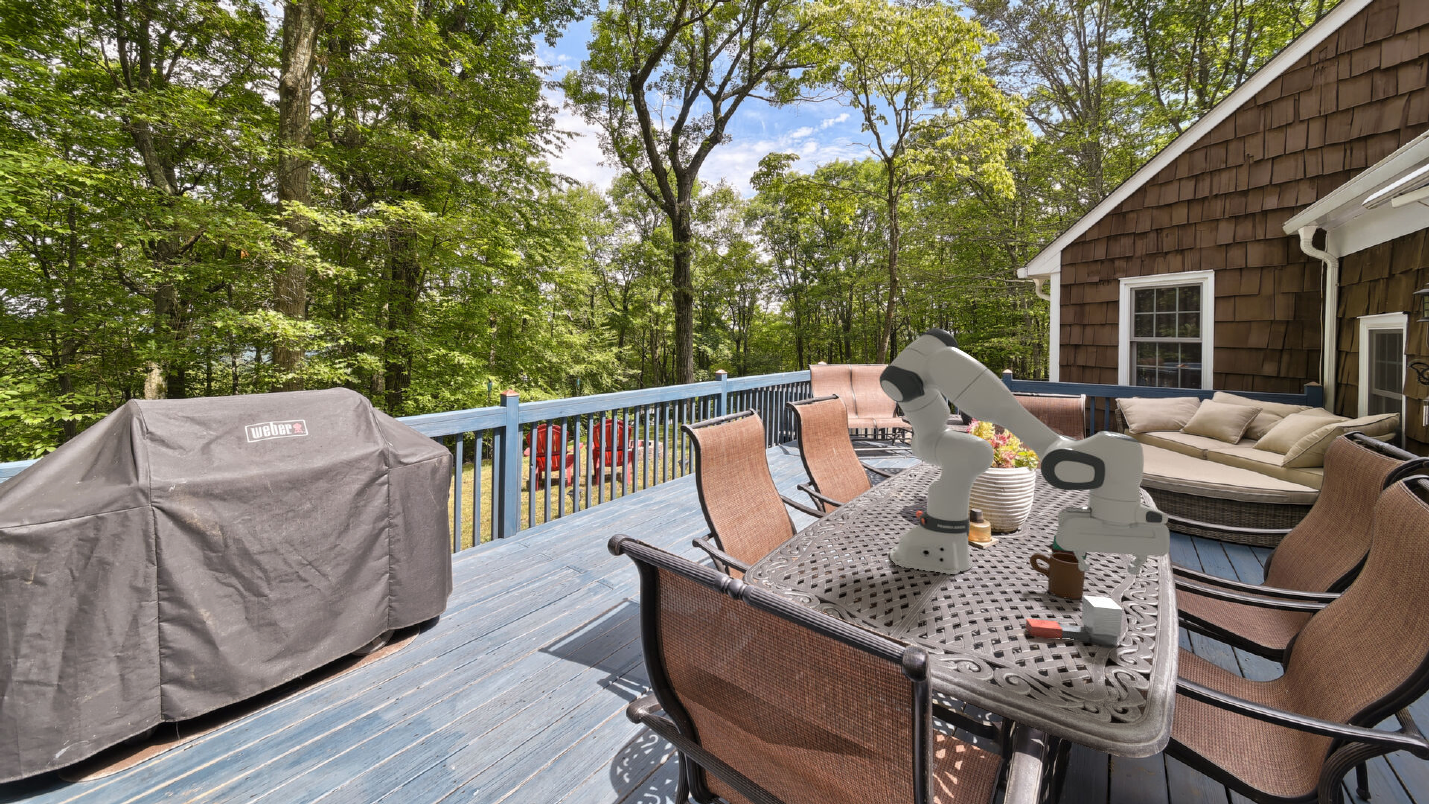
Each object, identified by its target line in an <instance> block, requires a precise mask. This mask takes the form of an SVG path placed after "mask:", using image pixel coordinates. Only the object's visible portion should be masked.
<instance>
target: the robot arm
mask: <svg viewBox="0 0 1429 804" xmlns="http://www.w3.org/2000/svg"><path fill="white" fill-rule="evenodd" d="M879 385H880V388H881V389H882V392H884V393H885V394H886V396H888V397H889V398H890V399H891V400H893V401H894V402H896V403H897V405H898V406H899V407H900V409H901V411H902V412H903V414H904V416H905V417H906V419H907V420H908V422H909V424H910V426H911V428H912V430H913V435H912V438H911V442H910V449H911V452H912V454H913V456H915V457H916V458H918V459H920V460H921V461H923V462H925V463H927V464H929V465H933V466H937V467H940V468H941V475H940V476H939V479H938V480H935V481H934V482H933V483H931V484H930V485H929V486H928V488H927V500H926V501H927V502H926V512H925V511H924V513H923V511H922V510H917V511H916V512H915V516H916V518H917V519H918V522H919V524H917V525H916V526H914V527H912V528H910V529H909V530H906V531H905V532H904V533H902V534H901V536H900V538H899V540H898V544H897V546H894V547H892V548H891V549H890V552H889V558H890V560H891V562H892V561H893V562H894V563H895V564H894V563H893V562H892V563H893V564H894V565H896V566H897V565H899V566H901V567H900V568H904V567H905V568H904V569H910V568H914V569H913V570H917V569H919V571H923V570H925V572H930V571H935V572H934V573H936V572H940V573H939V574H943V573H946V574H945V575H950V574H955V575H957V574H959V573H961V572H966V571H968V570H971V568H972V567H973V564H972V560H971V556H970V549H969V547H970V546H969V536H970V535H969V534H970V532H971V531H970V530H971V529H970V528H971V523H970V522H971V521H970V517H969V508H970V507H969V506H970V497H971V491H972V488H973V486H974V483H975V482H976V480H977V479H978V477H980V475H982V474H984V473H986V472H987V471H988V470H989V469H990V468H991V466H993V463H994V460H995V451H994V448H993V446H992V444H991V443H990V442H989V441H988V440H986V439H984V438H982V437H980V436H977V435H975V434H972V433H967V432H963V431H962V432H961V431H957V430H953V429H951V428H950V427H949V426H948V425H947V423H948V421H949V419H950V417H951V409H950V406H949V405H948V403H947V401H946V400H945V398H946V399H947V400H948V401H949V402H950V403H951V404H952V405H953V406H955V407H956V408H958V409H959V410H960V412H963V413H964V414H966V415H967V416H969V417H970V418H973V419H974V420H976V421H978V422H982V423H990V424H994V425H997V426H999V427H1001V428H1003V429H1005V430H1007V431H1008V432H1010V434H1012V435H1013V436H1015V437H1016V438H1017V439H1018V440H1019V441H1021V442H1022V443H1023V444H1024V445H1026V446H1027V447H1028V448H1030V449H1031V450H1032V451H1033V452H1034V453H1035V455H1036V456H1037V458H1038V460H1039V462H1040V472H1041V475H1042V477H1043V479H1044V481H1045V482H1046V483H1048V484H1049V485H1050V486H1052V487H1053V488H1056V489H1059V490H1062V491H1085V490H1086V491H1087V490H1088V503H1087V507H1085V506H1084V507H1073V506H1066V507H1065V508H1063V509H1061V510H1060V511H1058V516H1057V522H1058V524H1057V528H1056V533H1055V535H1056V542H1057V544H1058V545H1059V546H1060V547H1061V548H1062V549H1064V550H1067V551H1074V554H1075V556H1076V558H1077V559H1078V561H1079V565H1078V567H1079V569H1080V570H1081V571H1085V572H1090V571H1091V569H1090V568H1091V563H1090V562H1088V561H1087V560H1084V559H1083V557H1082V556H1085V552H1086V553H1101V554H1113V555H1114V554H1118V555H1120V554H1121V555H1132V556H1134V557H1135V559H1134V560H1133V562H1132V563H1127V565H1126V566H1127V568H1126V569H1127V571H1126V572H1127V573H1128V574H1130V575H1134V576H1137V575H1138V576H1139V575H1140V574H1141V573H1140V572H1141V568H1142V567H1143V565H1145V564H1146V562H1147V561H1148V556H1150V557H1165V556H1167V554H1168V553H1169V552H1170V543H1171V541H1170V538H1171V537H1170V529H1169V528H1168V526H1167V525H1166V524H1167V523H1168V520H1169V516H1168V515H1167V514H1166V513H1165V512H1163V511H1161V510H1160V509H1158V508H1155V507H1153V506H1151V505H1148V504H1145V503H1142V502H1141V501H1142V495H1141V491H1140V486H1141V483H1142V482H1143V477H1144V462H1145V461H1144V450H1143V446H1142V444H1141V443H1140V441H1139V440H1137V439H1135V438H1134V437H1132V436H1130V435H1127V434H1124V433H1120V432H1114V431H1106V430H1105V431H1103V430H1102V431H1098V432H1097V433H1095V434H1093V435H1092V436H1088V437H1086V438H1083V439H1081V440H1078V439H1077V438H1076V439H1075V438H1074V437H1070V436H1067V435H1063V434H1062V433H1058V432H1057V431H1055V430H1053V429H1052V428H1051V427H1049V426H1047V425H1046V424H1045V423H1044V422H1043V421H1041V420H1040V419H1039V418H1038V417H1036V416H1035V415H1034V414H1032V413H1031V412H1030V411H1029V410H1028V409H1026V408H1025V407H1024V406H1023V404H1022V403H1021V402H1019V400H1018V399H1017V398H1016V396H1015V395H1014V394H1013V392H1012V391H1011V390H1010V389H1009V387H1008V386H1007V385H1006V384H1005V383H1004V381H1002V380H1001V379H1000V378H999V377H998V376H997V374H996V373H994V372H993V371H992V370H991V369H989V368H988V367H987V366H985V365H984V364H983V363H981V361H978V359H976V358H974V357H973V356H971V355H969V354H968V353H966V352H964V351H962V350H960V346H959V344H958V341H957V340H956V338H955V337H954V336H953V335H952V334H951V333H950V332H948V331H947V330H944V329H942V328H938V327H937V328H936V327H935V328H931V329H928V330H926V331H925V332H923V333H921V334H920V336H919V337H918V338H917V339H915V340H914V341H912V342H910V343H909V345H908V344H907V346H906V347H905V348H904V349H902V351H901V352H900V353H899V354H898V355H897V356H896V358H894V359H893V361H892V362H891V363H890V364H888V365H887V366H886V367H885V368H884V369H883V371H882V372H881V374H880V376H879ZM899 566H898V567H899ZM960 571H961V572H960Z"/></svg>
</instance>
